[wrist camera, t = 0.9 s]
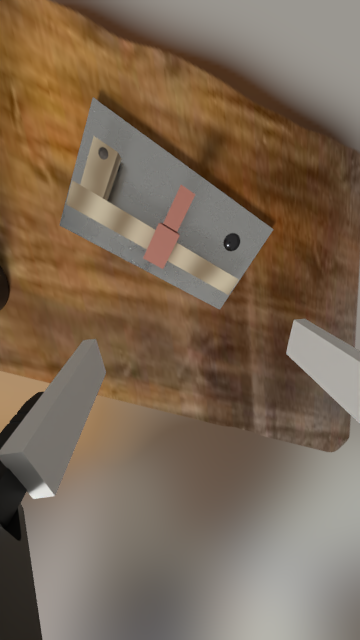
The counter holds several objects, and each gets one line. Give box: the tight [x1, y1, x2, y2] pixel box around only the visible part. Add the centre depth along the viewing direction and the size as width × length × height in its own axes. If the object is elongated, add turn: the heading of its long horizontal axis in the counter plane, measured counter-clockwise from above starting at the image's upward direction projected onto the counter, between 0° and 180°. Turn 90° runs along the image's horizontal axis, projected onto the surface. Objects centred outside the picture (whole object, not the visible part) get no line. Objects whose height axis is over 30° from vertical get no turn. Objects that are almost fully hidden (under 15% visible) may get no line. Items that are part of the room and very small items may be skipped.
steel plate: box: [60, 98, 273, 309], centre depth 29 cm, size 30×16×1 cm, turn 61°
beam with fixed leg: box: [66, 136, 239, 295], centre depth 27 cm, size 27×8×3 cm, turn 61°
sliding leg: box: [143, 185, 195, 269], centre depth 26 cm, size 3×10×6 cm, turn 151°
